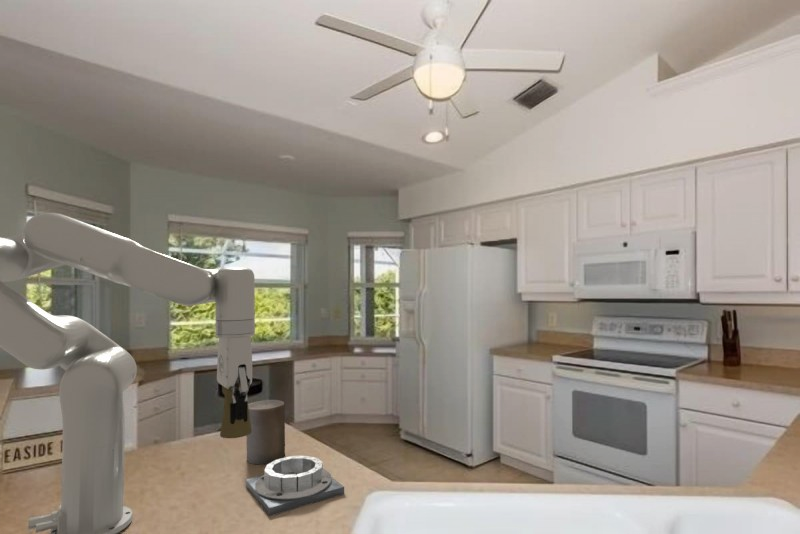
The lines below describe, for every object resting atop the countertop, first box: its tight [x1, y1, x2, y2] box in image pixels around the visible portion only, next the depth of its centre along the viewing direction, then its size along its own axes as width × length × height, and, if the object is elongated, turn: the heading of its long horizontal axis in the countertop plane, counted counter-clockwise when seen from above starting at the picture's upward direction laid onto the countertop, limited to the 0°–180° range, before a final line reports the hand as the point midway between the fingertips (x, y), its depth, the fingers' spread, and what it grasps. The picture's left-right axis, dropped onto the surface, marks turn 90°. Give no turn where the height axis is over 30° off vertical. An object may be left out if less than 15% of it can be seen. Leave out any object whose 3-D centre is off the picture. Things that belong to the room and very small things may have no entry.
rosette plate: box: [245, 455, 345, 517], centre depth 98 cm, size 16×16×5 cm
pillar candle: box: [246, 398, 286, 465], centre depth 117 cm, size 10×10×15 cm
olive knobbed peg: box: [219, 380, 252, 439], centre depth 91 cm, size 6×6×11 cm
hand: (235, 419), depth 91 cm, fingers closed on olive knobbed peg, 3 cm apart
